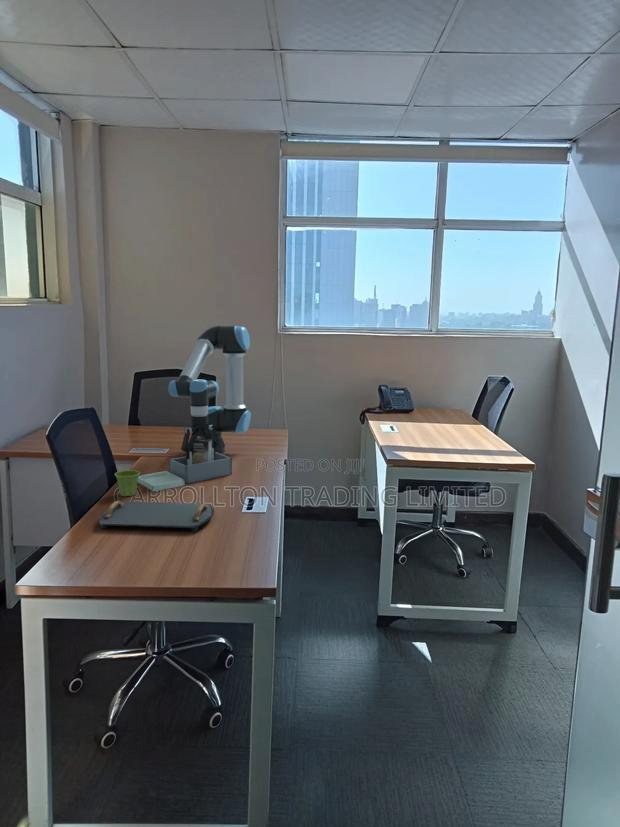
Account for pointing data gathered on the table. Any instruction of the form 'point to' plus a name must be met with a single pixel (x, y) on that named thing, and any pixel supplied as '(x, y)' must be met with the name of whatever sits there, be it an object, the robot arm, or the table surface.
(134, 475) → the plant pot
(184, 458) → the grey storage bin
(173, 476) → the tray
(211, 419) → the robot arm
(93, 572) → the table surface
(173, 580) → the table surface
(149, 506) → the serving board
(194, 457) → the coffee box
